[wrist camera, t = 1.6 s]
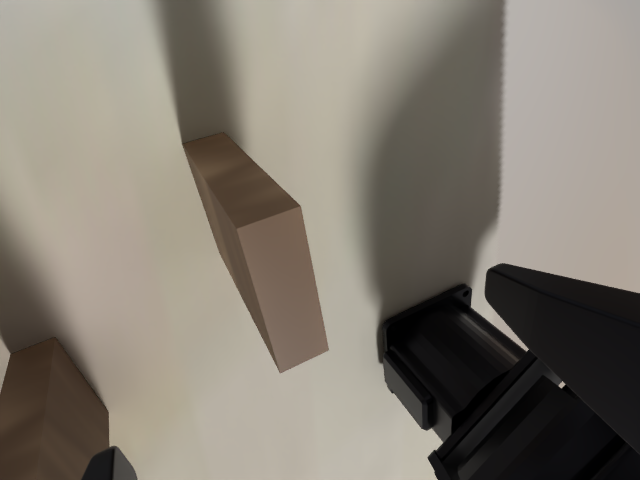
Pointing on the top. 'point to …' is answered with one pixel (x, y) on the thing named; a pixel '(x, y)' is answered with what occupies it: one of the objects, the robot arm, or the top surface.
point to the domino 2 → (261, 248)
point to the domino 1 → (48, 417)
